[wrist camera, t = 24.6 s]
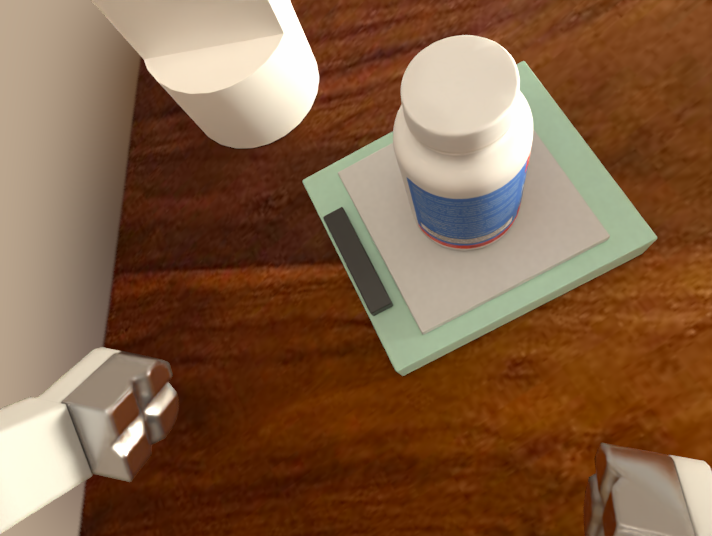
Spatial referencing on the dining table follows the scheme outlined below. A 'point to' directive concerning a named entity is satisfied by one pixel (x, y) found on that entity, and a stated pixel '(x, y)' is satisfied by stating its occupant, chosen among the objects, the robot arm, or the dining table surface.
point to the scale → (484, 265)
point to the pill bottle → (463, 141)
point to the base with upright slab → (225, 62)
